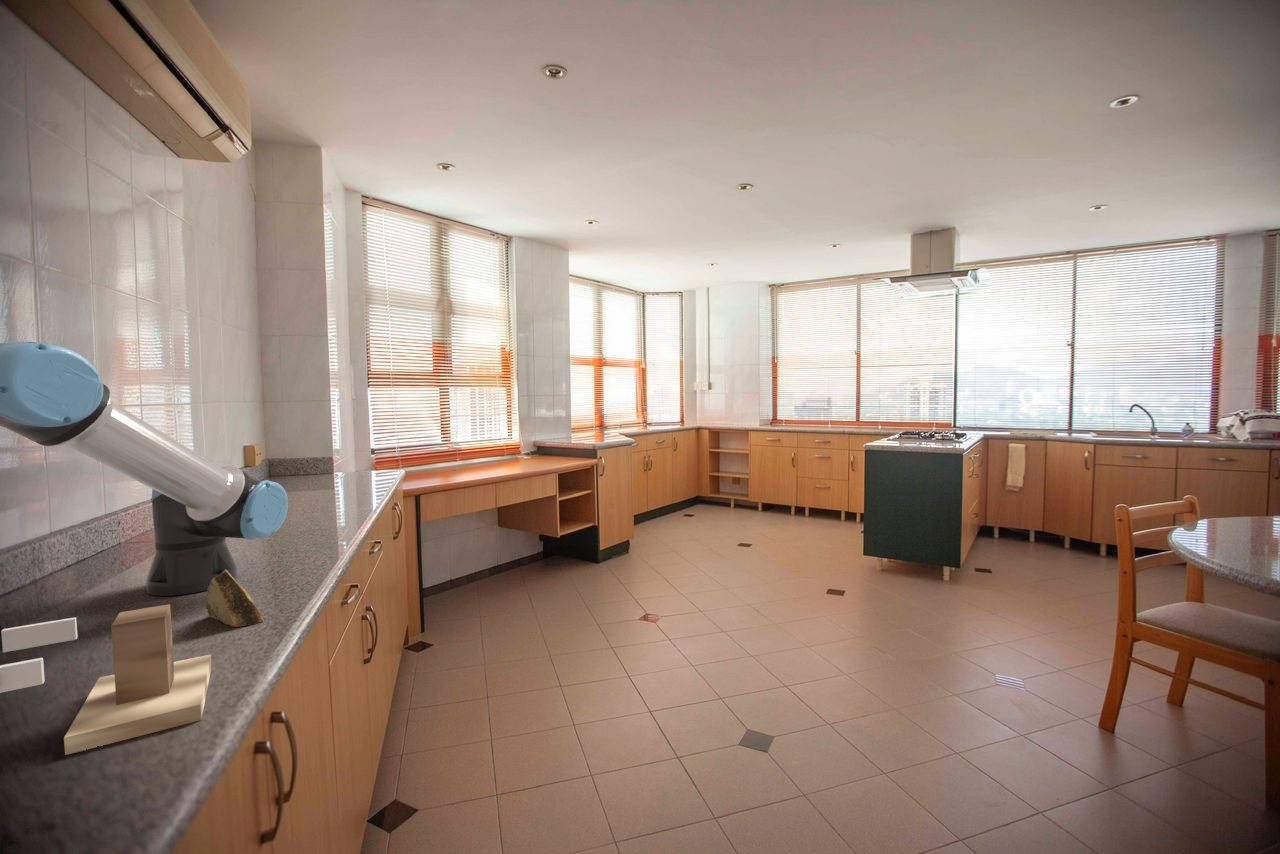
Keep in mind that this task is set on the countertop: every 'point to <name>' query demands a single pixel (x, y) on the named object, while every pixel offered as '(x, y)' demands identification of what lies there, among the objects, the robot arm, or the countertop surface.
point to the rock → (231, 602)
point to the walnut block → (142, 653)
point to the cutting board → (140, 708)
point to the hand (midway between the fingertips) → (61, 647)
